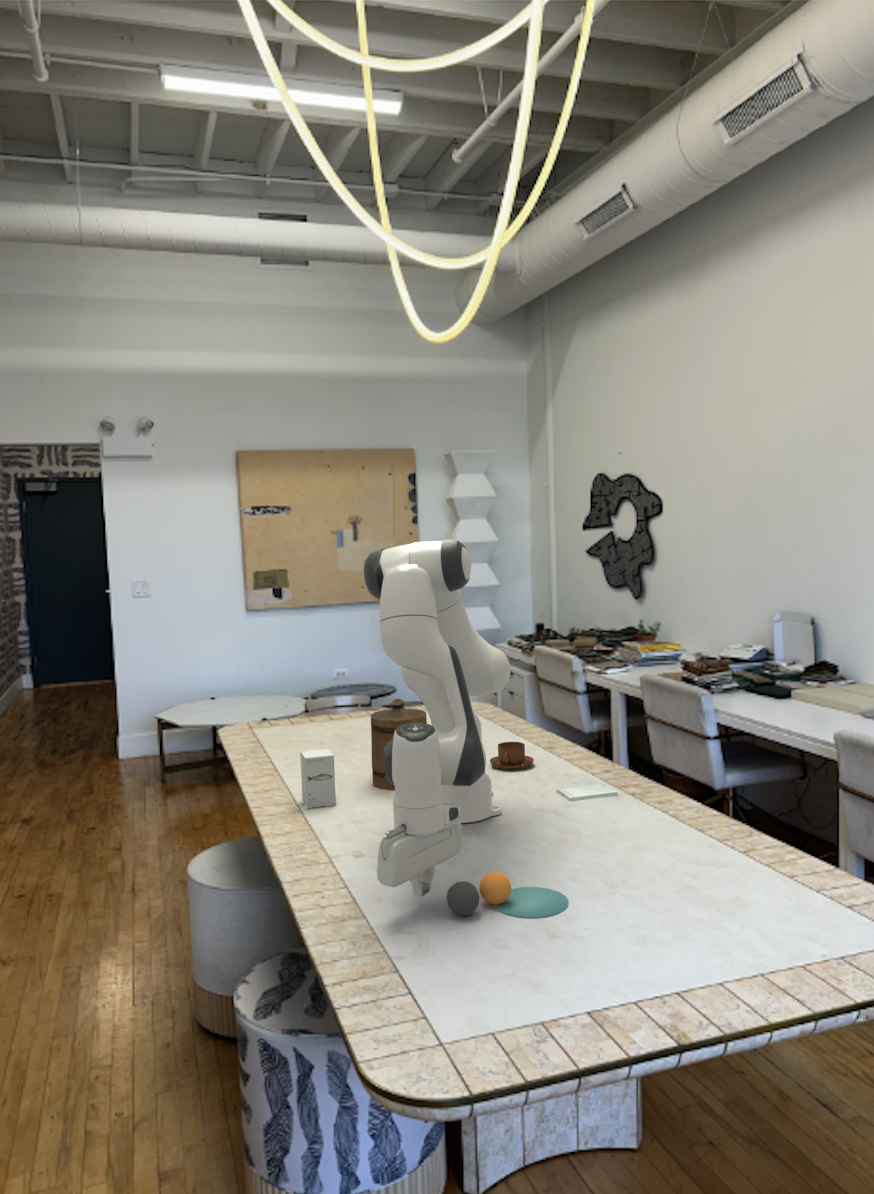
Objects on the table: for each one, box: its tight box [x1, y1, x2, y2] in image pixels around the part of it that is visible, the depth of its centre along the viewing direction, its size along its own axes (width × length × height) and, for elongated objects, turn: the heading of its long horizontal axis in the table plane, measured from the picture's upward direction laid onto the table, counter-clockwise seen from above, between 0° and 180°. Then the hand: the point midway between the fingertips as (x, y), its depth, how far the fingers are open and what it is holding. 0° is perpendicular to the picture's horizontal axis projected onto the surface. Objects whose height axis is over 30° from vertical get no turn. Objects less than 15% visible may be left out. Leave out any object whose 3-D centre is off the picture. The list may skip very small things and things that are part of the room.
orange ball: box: [478, 870, 512, 906], centre depth 161 cm, size 6×6×6 cm
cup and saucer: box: [489, 741, 535, 771], centre depth 253 cm, size 12×12×6 cm
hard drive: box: [556, 783, 618, 802], centre depth 225 cm, size 2×8×12 cm
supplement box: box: [299, 748, 337, 809], centre depth 224 cm, size 7×7×13 cm
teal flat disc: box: [493, 886, 569, 919], centre depth 161 cm, size 13×13×1 cm
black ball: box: [446, 880, 480, 917], centre depth 157 cm, size 6×6×6 cm
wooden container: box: [370, 698, 428, 791], centre depth 240 cm, size 15×15×22 cm
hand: (422, 894), depth 163 cm, fingers closed
